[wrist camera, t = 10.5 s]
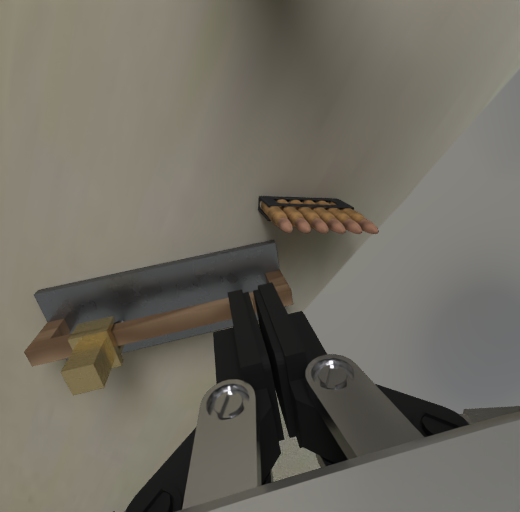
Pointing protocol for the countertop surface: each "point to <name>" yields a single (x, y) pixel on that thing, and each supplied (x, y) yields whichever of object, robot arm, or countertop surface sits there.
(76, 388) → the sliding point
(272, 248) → the bolt-hole plate
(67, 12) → the countertop surface
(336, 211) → the ammunition clip
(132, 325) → the bar
